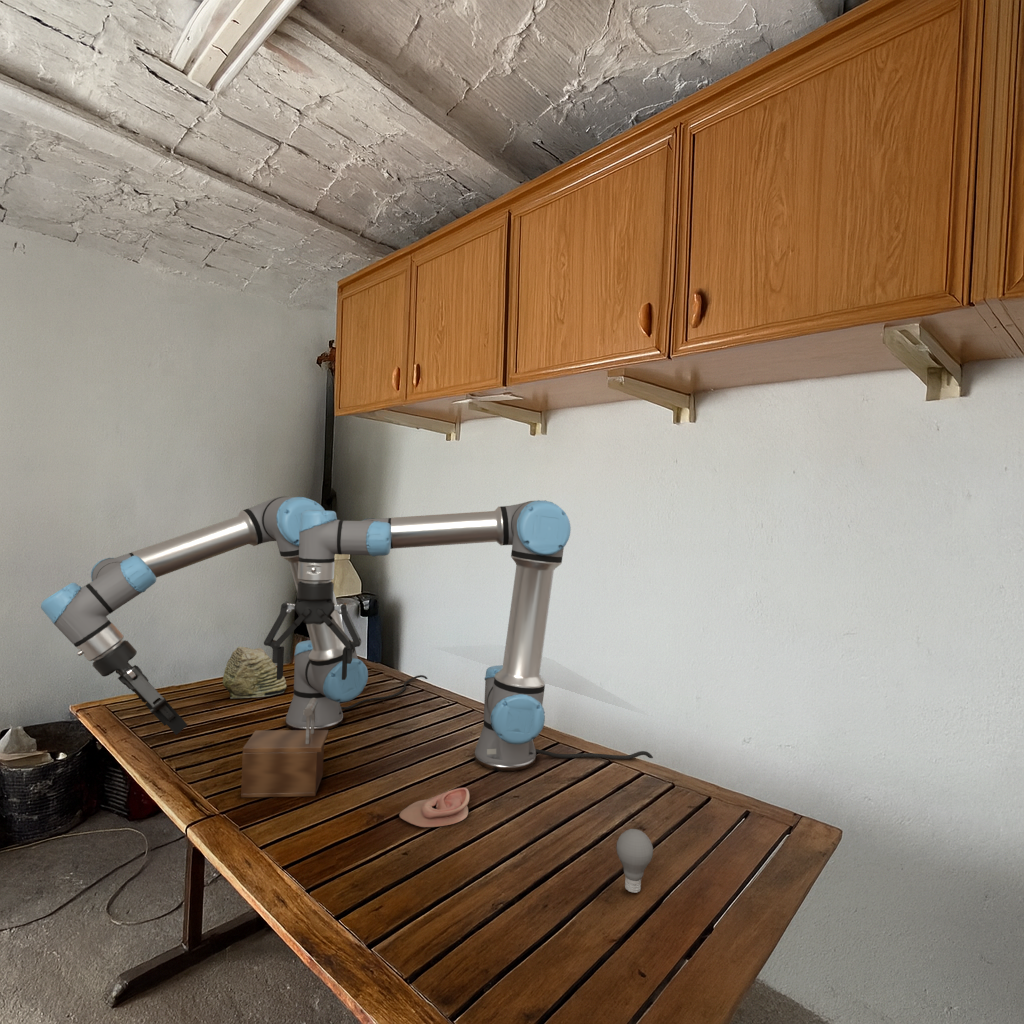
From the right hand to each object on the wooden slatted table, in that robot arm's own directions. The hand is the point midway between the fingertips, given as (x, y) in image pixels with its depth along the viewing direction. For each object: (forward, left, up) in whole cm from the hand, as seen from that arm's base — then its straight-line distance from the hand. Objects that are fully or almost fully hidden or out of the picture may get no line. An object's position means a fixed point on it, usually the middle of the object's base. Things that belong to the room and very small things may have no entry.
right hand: (312, 678), depth 138 cm
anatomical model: (-23, +20, -24) cm, 39 cm away
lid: (+5, -1, -14) cm, 15 cm away
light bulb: (-48, +55, -24) cm, 76 cm away
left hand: (+27, -9, -11) cm, 31 cm away
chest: (+5, -1, -24) cm, 24 cm away
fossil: (+11, -69, -24) cm, 73 cm away
